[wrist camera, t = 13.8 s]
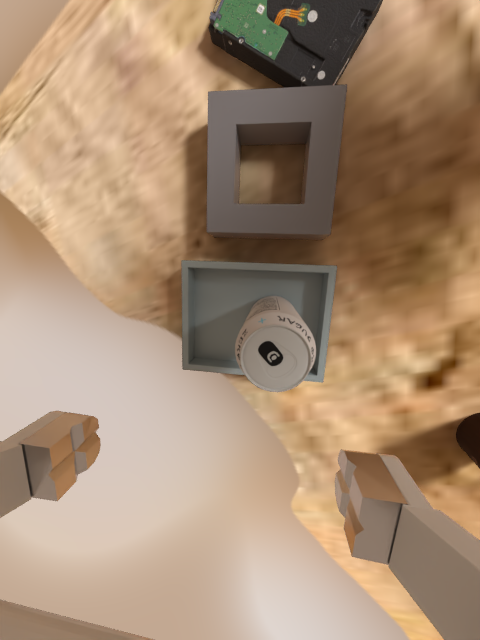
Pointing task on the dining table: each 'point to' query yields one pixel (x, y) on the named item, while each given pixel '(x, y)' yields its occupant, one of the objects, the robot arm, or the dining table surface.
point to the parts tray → (248, 308)
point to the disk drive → (293, 36)
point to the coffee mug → (470, 437)
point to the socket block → (268, 129)
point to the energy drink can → (275, 345)
